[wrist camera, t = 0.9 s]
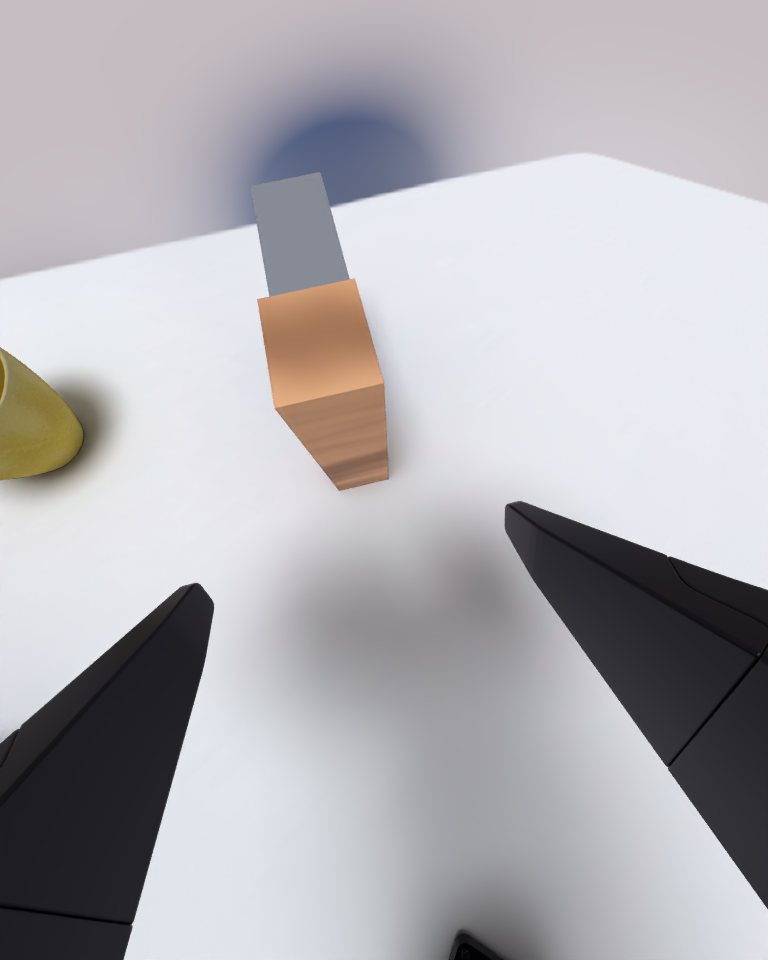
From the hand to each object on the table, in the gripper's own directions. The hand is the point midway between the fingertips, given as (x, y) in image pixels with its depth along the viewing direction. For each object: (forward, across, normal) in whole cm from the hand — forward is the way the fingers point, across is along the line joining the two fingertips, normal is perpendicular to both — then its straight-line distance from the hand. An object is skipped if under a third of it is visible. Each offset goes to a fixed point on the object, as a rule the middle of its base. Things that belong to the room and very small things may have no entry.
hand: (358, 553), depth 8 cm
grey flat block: (+21, 0, -2) cm, 21 cm away
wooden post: (+15, 0, +4) cm, 16 cm away
